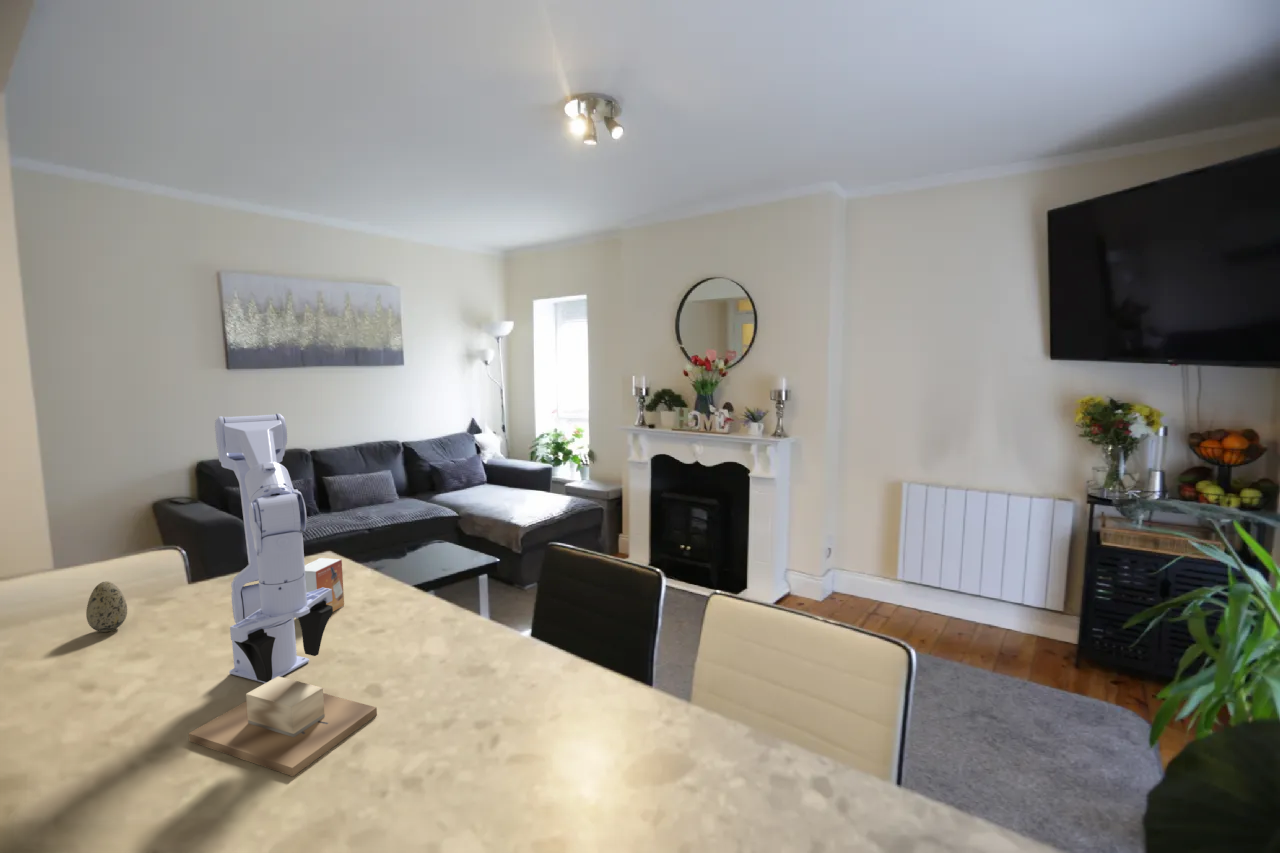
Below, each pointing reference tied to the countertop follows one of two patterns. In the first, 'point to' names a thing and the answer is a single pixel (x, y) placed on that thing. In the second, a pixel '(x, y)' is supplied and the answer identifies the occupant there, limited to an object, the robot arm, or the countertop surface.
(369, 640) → the countertop surface
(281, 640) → the robot arm
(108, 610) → the decorative egg
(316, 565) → the small box
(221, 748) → the oak board
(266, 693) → the block
